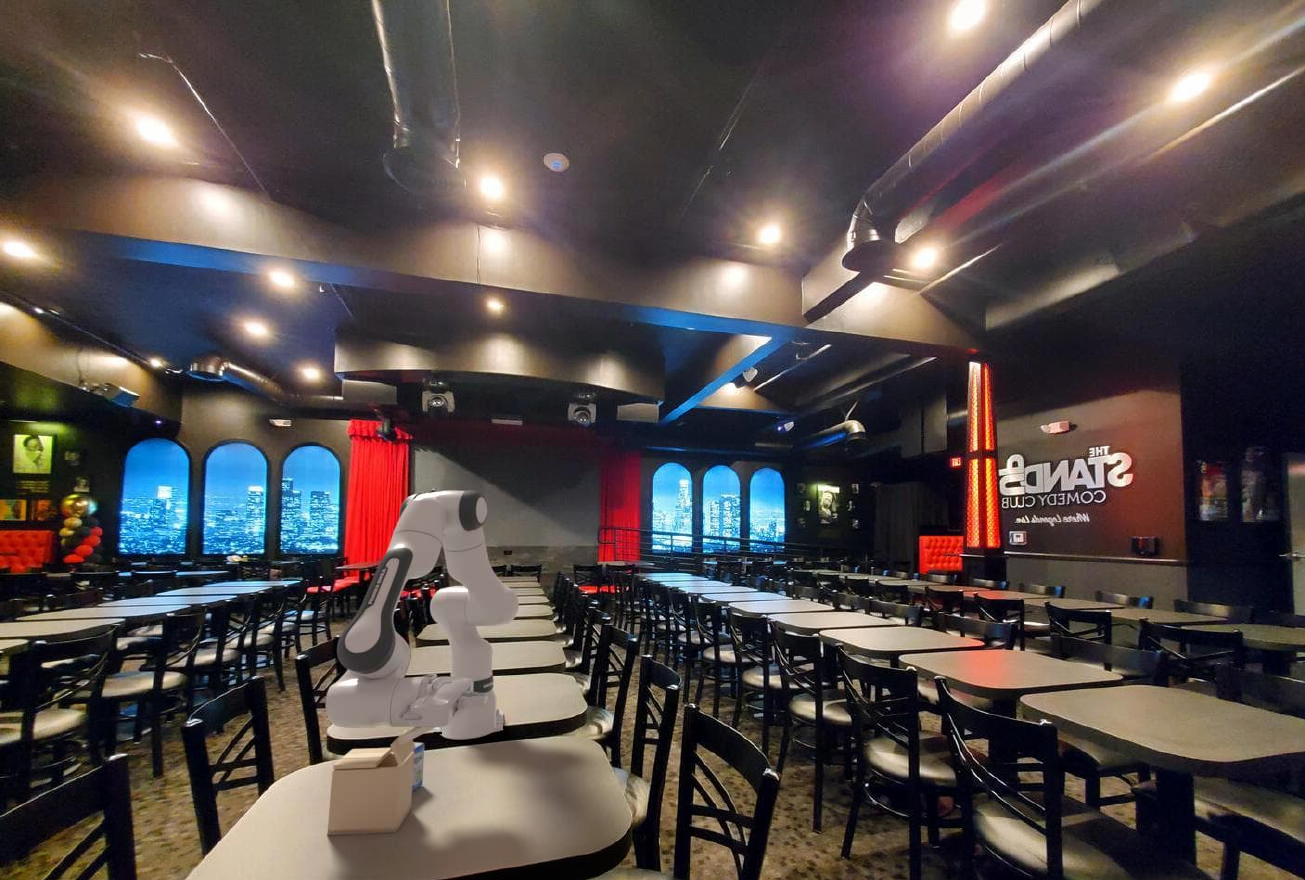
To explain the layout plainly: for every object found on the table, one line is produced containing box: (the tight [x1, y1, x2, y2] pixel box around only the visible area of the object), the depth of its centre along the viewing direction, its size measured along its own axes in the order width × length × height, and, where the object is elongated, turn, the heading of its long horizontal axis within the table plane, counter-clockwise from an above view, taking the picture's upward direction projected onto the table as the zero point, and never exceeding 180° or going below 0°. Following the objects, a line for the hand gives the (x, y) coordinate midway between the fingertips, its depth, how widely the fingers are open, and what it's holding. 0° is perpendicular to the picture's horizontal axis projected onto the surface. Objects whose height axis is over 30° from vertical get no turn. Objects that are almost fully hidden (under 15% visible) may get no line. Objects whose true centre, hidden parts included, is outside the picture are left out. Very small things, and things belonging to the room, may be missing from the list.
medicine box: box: [391, 741, 425, 793], centre depth 117 cm, size 8×4×9 cm, turn 168°
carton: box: [326, 747, 414, 836], centre depth 105 cm, size 8×12×12 cm, turn 95°
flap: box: [390, 710, 463, 765], centre depth 108 cm, size 8×4×13 cm
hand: (485, 699), depth 109 cm, fingers closed
